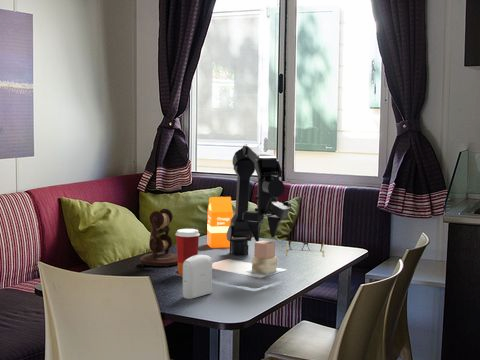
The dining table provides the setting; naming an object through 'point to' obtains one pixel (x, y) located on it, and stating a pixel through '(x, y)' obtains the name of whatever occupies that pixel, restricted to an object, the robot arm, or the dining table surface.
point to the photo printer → (197, 276)
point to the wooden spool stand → (160, 241)
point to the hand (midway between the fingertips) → (265, 239)
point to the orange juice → (219, 221)
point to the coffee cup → (186, 246)
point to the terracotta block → (264, 249)
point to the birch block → (264, 265)
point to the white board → (240, 268)
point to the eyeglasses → (307, 245)
